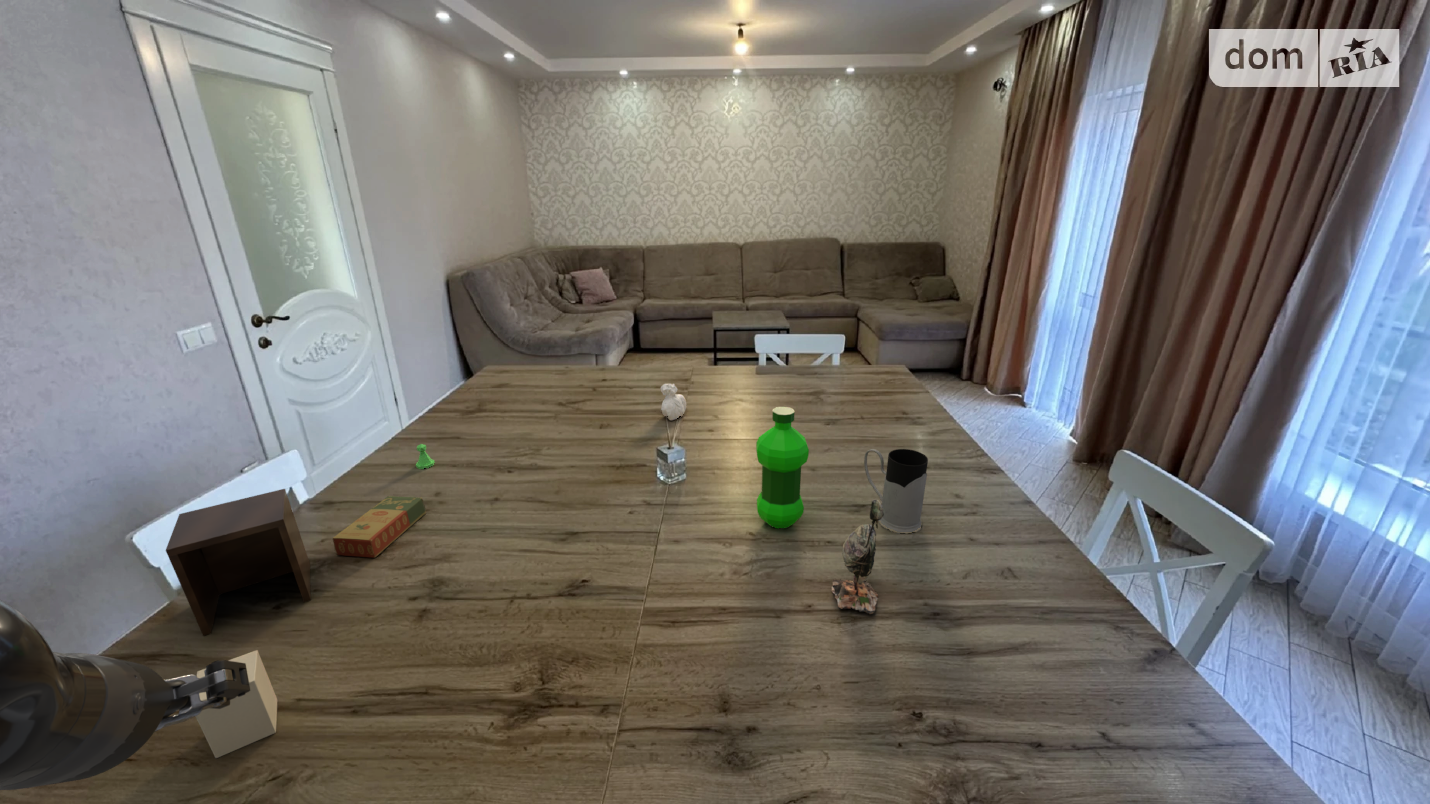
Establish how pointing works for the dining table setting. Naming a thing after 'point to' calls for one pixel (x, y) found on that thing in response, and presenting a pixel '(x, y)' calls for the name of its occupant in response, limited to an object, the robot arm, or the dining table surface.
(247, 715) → the cream box
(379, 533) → the carton
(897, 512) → the glass holder
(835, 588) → the bird figurine
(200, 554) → the walnut shelf
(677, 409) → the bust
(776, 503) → the plastic bottle
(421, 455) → the game piece
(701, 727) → the dining table surface
